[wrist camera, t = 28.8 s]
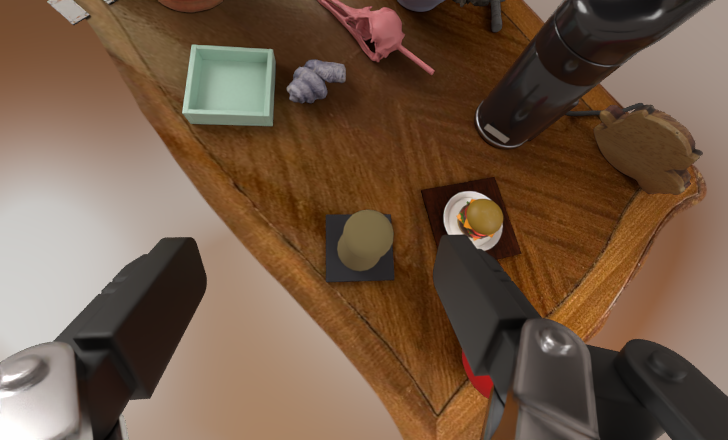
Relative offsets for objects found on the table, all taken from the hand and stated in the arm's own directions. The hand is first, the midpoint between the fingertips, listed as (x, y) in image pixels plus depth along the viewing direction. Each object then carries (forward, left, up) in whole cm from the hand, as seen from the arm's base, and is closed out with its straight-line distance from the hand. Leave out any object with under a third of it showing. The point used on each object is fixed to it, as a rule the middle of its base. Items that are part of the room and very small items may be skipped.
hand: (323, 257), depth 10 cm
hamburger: (-20, -8, -29) cm, 36 cm away
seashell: (+2, -29, -29) cm, 41 cm away
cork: (-4, -4, -28) cm, 29 cm away
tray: (+14, -29, -29) cm, 43 cm away
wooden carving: (-47, -18, -29) cm, 58 cm away
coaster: (-4, -5, -29) cm, 29 cm away
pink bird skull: (-6, -39, -29) cm, 49 cm away
